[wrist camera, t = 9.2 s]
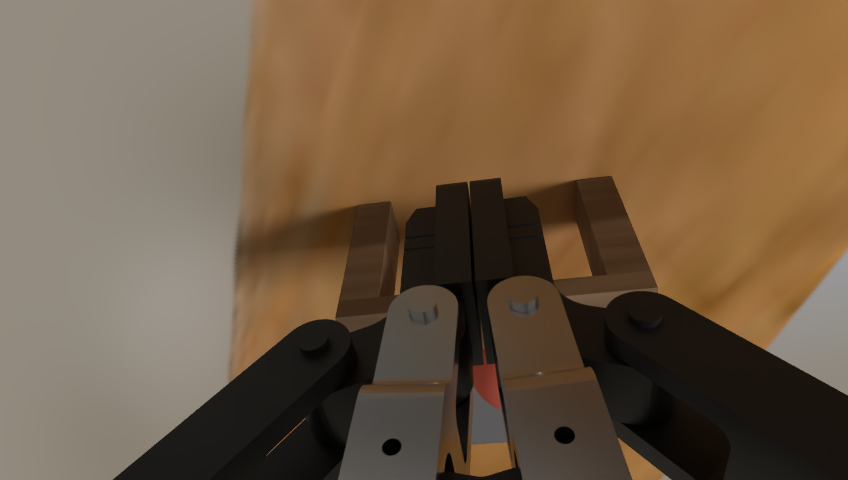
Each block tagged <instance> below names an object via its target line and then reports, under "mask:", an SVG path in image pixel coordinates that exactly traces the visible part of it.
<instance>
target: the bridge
mask: <svg viewBox="0 0 848 480" xmlns="http://www.w3.org/2000/svg"><path fill="white" fill-rule="evenodd" d="M576 184H577V224H578V228H579V231H580V235H581V238H582V241H583V245H584V248H585V252H586V255H587V258H588V262H589V265H590V269H591V272H592V275H593V276H590V277H580V278H569V279H559V280H553V282H554V285H555V286H556V288H557V289H558V290H559V292H560V293H562V294H563V295H564V296H565V297H567V298H569V299H570V300H573V301H575V302H577V303H581V304H584V305H589V306H596V307H603V308H606V307H607V305H608V304H609V303H610V302H611V301H612V300H613V299H614V298H616V297H617V296H619V295H622V294H624V293H628V292H633V291H649V292H655V293H657V291H658V287H657V284H656V282H655V280H654V277H653V275H652V272H651V270H650V267H649V265H648V263H647V260H646V258H645V255H644V253H643V251H642V248H641V246H640V243H639V241H638V239H637V236H636V234H635V231H634V229H633V227H632V224H631V222H630V219H629V217H628V214H627V212H626V210H625V207H624V205H623V202H622V200H621V198H620V195H619V193H618V190H617V188H616V186H615V183H614V181H613V178H612V176H610V177H601V178H592V179H584V180H576ZM399 242H400V241H399V236H398V232H397V227H396V223H395V218H394V214H393V209H392V205H391V202H384V203H375V204H367V205H358V210H357V215H356V220H355V225H354V229H353V234H352V239H351V244H350V249H349V254H348V259H347V264H346V269H345V273H344V278H343V283H342V288H341V293H340V298H339V303H338V308H337V313H336V317H335V318H336V321H338V322H340V323H342V324H343V325H345V326H346V327H347V329H348V330H349V332H353V331H356V330H359V329H361V328H364V327H367V326H370V325H372V324H375V323H377V322H379V321H380V320H382V319H383V318H385V317H386V316H387V313H388V309H389V306H390V304H391V303H392V301H393V300H394V299H395V298H396V297H397V296H398V295H394V292H395V282H396V272H397V262H398V252H399ZM481 330H482V325H481ZM482 346H483V349H485V347H484V340H483V333H482Z"/></svg>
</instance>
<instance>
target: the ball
mask: <svg viewBox="0 0 848 480" xmlns="http://www.w3.org/2000/svg"><path fill="white" fill-rule="evenodd" d="M483 362H484V365H477V366H473V374H474V385H473V386H474V388H475V389H476V391H477V392H478V394H479V395H480V396H481V397H482V398H483V399H484V400H485V401H486V402H487V403H489V404H490V405H492V406H494V407H496V408H498V409H501V405H500V399H499V393H498V385H497V377H496V369H495V364H487V362H486V354H485V349H483Z"/></svg>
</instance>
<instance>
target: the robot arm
mask: <svg viewBox="0 0 848 480" xmlns="http://www.w3.org/2000/svg"><path fill="white" fill-rule="evenodd" d="M470 198H471V206H470ZM470 198H469V190H468V184H467V182H461V183H453V184H444V185H437V186H436V207H429V208H420V209H416V210H415V211H414V213H413V214H412V216H411V217H410V218H409V220H408V221H407V223H406V232H405V244H404V255H403V266H402V277H401V289H400V294H399V295H398V296H397V297H396V298H395V299H394V300H393V301H392V303H391V304H390V306H389V309H388V313H387V316H386V317H385V318H383V319H382V320H380V321H379V322H377V323H375V324H372V325H370V326H367V327H364V328H361V329H359V330H356V331H353V332H349V330H348V329H347V327H346V326H345V325H343V324H342V323H340V322H338V321H334V320H328V319H322V320H315V321H311V322H308V323H305V324H303V325H301V326H299V327H297V328H296V329H294V330H293V331H292V332H290V333H289V334H288V335H287V336H286V337H284V338H283V339H282V340H281V341H280V342H278V343H277V344H276V345H275V346H274V347H272V348H271V349H270V350H269V351H268V352H266V353H265V354H264V355H263V356H261V357H260V358H259V359H258V360H257V361H255V362H254V363H253V364H252V365H251V366H249V367H248V368H247V369H246V370H245V371H243V372H242V373H241V374H240V375H239V376H237V377H236V378H235V379H234V380H232V381H231V382H230V383H229V384H228V385H226V386H225V387H224V388H223V389H222V390H220V391H219V392H218V393H217V394H216V395H214V396H213V397H212V398H211V399H210V400H208V401H207V402H206V403H205V404H204V405H202V406H201V407H200V408H199V409H197V410H196V411H195V412H194V413H193V414H191V415H190V416H189V417H188V418H187V419H185V420H184V421H183V422H182V423H181V424H179V425H178V426H177V427H176V428H175V429H173V430H172V431H171V432H170V433H169V434H167V435H166V436H165V437H164V438H162V439H161V440H160V441H159V442H158V443H156V444H155V445H154V446H153V447H152V448H151V449H149V450H148V451H147V452H146V453H144V454H143V455H142V456H141V457H140V458H138V459H137V460H136V461H135V462H134V463H132V464H131V465H130V466H129V467H127V468H126V469H125V470H124V471H123V472H121V473H120V474H119V475H118V476H117V477H115V478H114V479H113V480H632V478H631V475H630V472H629V469H628V466H627V463H626V460H625V458H624V455H623V452H622V449H621V446H620V443H619V441H618V438H619V439H621V440H622V441H623V442H624V443H626V444H627V445H628V446H629V447H631V448H632V449H633V450H635V451H636V452H637V453H638V454H640V455H641V456H642V457H643V458H645V459H646V460H647V461H649V462H650V463H651V464H652V465H654V466H655V467H656V468H657V469H659V470H660V471H661V472H663V473H664V474H665V475H666V476H668V477H669V478H670V479H672V480H848V395H846V394H844V393H842V392H840V391H838V390H837V389H835V388H833V387H831V386H829V385H828V384H826V383H824V382H822V381H820V380H818V379H817V378H815V377H813V376H811V375H809V374H808V373H806V372H804V371H802V370H800V369H798V368H796V367H795V366H793V365H791V364H789V363H787V362H786V361H784V360H782V359H780V358H778V357H777V356H775V355H773V354H771V353H769V352H767V351H766V350H764V349H762V348H760V347H758V346H756V345H755V344H753V343H751V342H749V341H747V340H746V339H744V338H742V337H740V336H738V335H736V334H735V333H733V332H731V331H729V330H727V329H725V328H724V327H722V326H720V325H718V324H716V323H715V322H713V321H711V320H709V319H707V318H705V317H704V316H702V315H700V314H698V313H696V312H695V311H693V310H691V309H689V308H687V307H685V306H684V305H682V304H680V303H678V302H676V301H674V300H673V299H671V298H669V297H667V296H665V295H662V294H659V293H655V292H649V291H633V292H628V293H624V294H622V295H619V296H617V297H616V298H614V299H613V300H612V301H611V302H610V303H609V304H608V305H607V307H606V308H603V307H596V306H589V305H584V304H581V303H577V302H575V301H573V300H570V299H569V298H567V297H565V296H564V295H563V294H562V293H560V292H559V290H558V289H557V288H556V286H555V285H554V282H553V278H552V274H551V269H550V264H549V259H548V255H547V250H546V245H545V241H544V237H543V231H542V226H541V222H540V217H539V212H538V208H537V207H536V206H535V205H534V204H533V203H532V202H531V201H530V200H529V199H528V198H527V197H526V196H525V197H516V198H507V199H503V192H502V185H501V178H494V179H486V180H477V181H470ZM481 325H482V330H481ZM482 333H483V340H484V347H485V354H486V362H487V364H495V369H496V377H497V385H498V393H499V399H500V405H501V411H502V416H503V422H504V427H505V433H506V438H507V444H508V449H509V455H510V461H511V466H512V469H509V470H505V471H502V472H499V473H496V474H493V475H489V476H485V477H477V476H471V475H470V460H471V439H472V418H473V391H472V388H473V385H474V374H473V366H477V365H484V362H483V346H482ZM304 418H306V419H305V420H304V421H303V422H302V423H301V424H300V425H299V426H298V427H297V428H295V427H296V426H297V425H298V424H299V423H300V422H301V421H302V420H303V419H304ZM294 428H295V429H294ZM293 429H294V430H293ZM292 430H293V431H292ZM291 431H292V432H291ZM290 432H291V433H290ZM289 433H290V434H289ZM288 434H289V435H288ZM287 435H288V436H287ZM285 436H287V437H286V438H285V439H284V440H283V441H282V442H281V443H280V444H279V445H278V446H276V445H277V444H278V443H279V442H280V441H281V440H282V439H283V438H284V437H285ZM617 437H618V438H617ZM275 446H276V447H275ZM274 447H275V448H274ZM273 448H274V449H273ZM272 449H273V450H272ZM271 450H272V451H271ZM270 451H271V452H270ZM269 452H270V453H269ZM268 453H269V454H268ZM267 454H268V455H267ZM266 455H267V456H266Z"/></svg>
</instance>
